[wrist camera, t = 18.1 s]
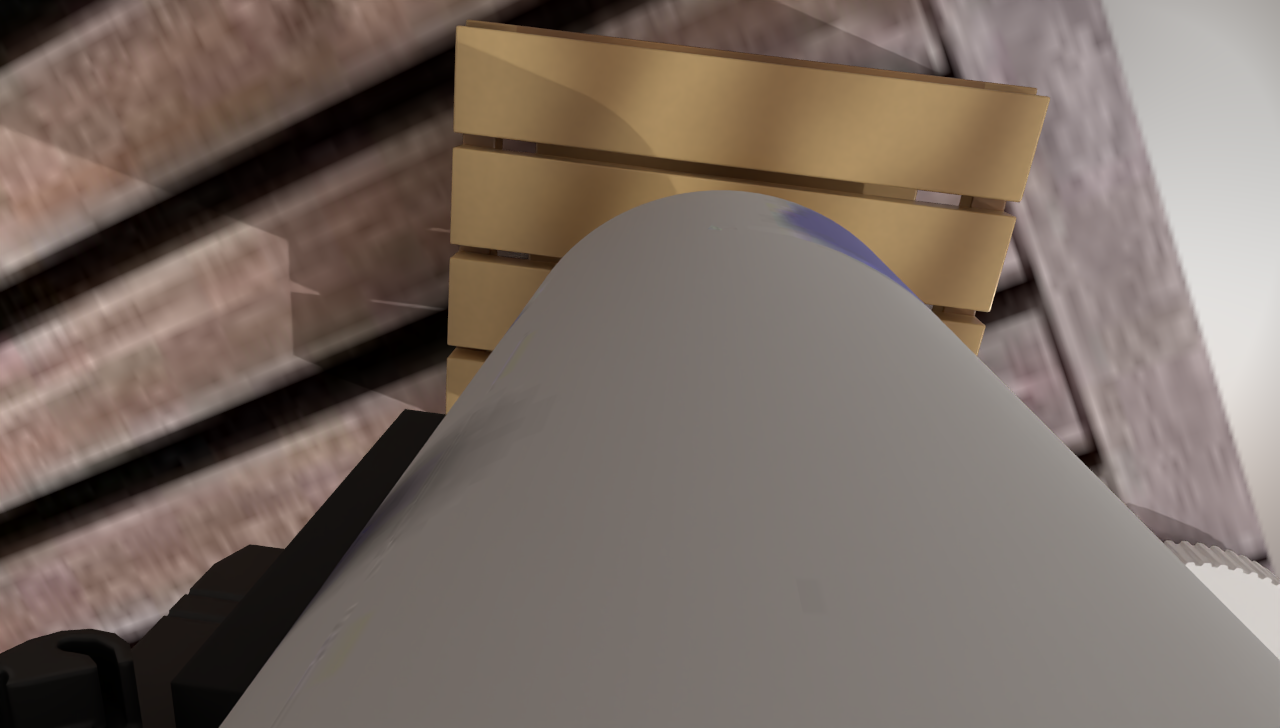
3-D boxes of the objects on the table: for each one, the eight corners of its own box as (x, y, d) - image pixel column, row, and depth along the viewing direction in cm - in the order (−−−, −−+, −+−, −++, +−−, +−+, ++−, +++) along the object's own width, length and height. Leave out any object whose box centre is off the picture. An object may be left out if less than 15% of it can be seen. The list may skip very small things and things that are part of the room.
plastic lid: (981, 798, 38) (1000, 846, 36) (944, 560, 34) (963, 597, 31) (1292, 756, 36) (1334, 804, 34) (1297, 497, 32) (1345, 532, 29)
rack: (491, 437, 33) (441, 527, 27) (512, 29, 28) (455, 17, 21) (868, 487, 33) (911, 590, 26) (967, 84, 27) (1054, 89, 21)
